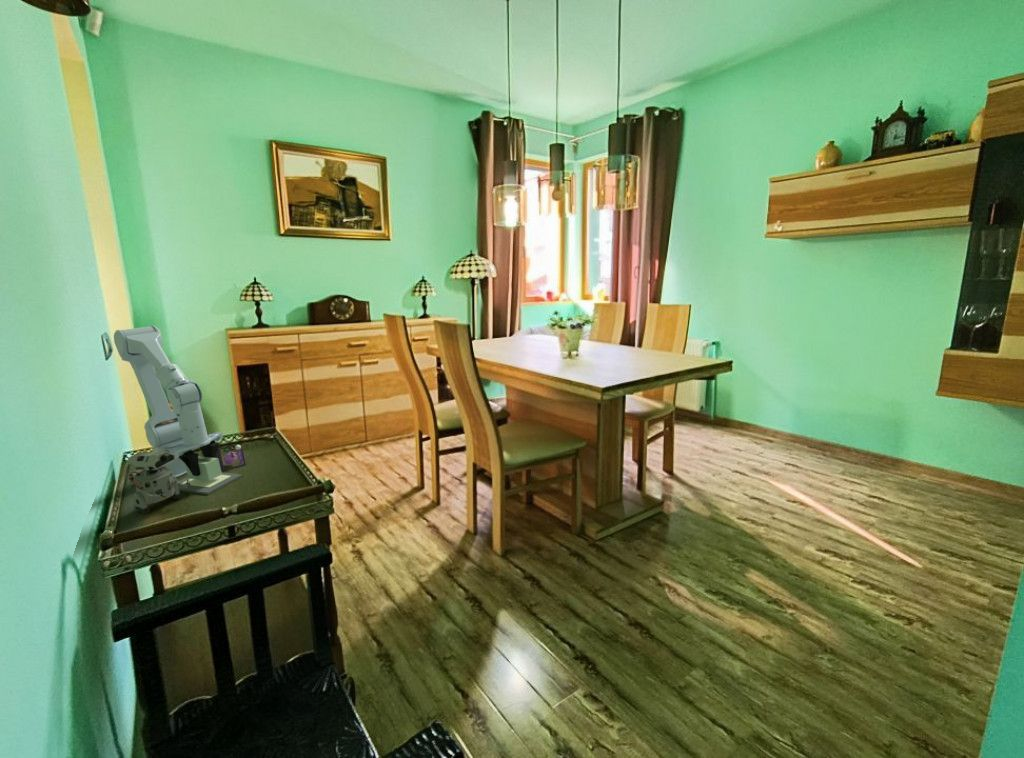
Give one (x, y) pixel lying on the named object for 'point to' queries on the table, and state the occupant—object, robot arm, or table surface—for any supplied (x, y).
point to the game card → (231, 456)
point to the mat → (208, 483)
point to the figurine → (153, 478)
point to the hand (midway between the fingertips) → (204, 471)
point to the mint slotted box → (206, 469)
